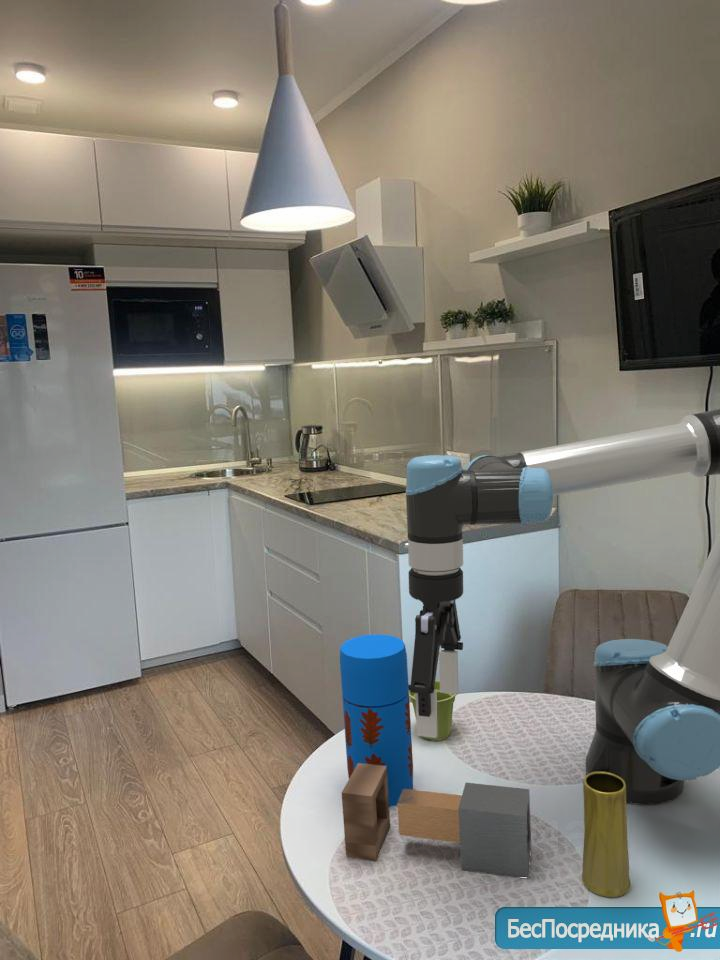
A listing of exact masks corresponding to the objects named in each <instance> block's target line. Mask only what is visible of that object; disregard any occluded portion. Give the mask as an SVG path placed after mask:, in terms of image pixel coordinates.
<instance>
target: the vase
mask: <svg viewBox="0 0 720 960" xmlns="http://www.w3.org/2000/svg"><path fill="white" fill-rule="evenodd" d="M582 782H583V783H582V786H583V787H582V788H583V791H582V792H583V828H584V832H583V833H584V834H583V852H582V872H581V881H582V883H583V884H584V886H585V887H586V888H587V889H588V890H589V891H591V892H592V893H594V894H596V895H598V896H601V897H605V898H618V897H621V896H622V897H623V896H624V895H626V894H627V893H628V892H629V891H630V890H631V889H630V888H631V883H632V882H631V879H630V860H629V859H630V858H629V855H630V854H629V843H628V825H627V823H628V822H627V802H626V784H625V781H624V780H623V779H622V778H621V777H619V776H617V775H615V774H613V773H609V772H603V771H597V772H592V773H589V774H587V775H586V774H585V776H584V778H583V781H582Z"/></svg>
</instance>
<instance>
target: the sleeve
mask: <svg viewBox="0 0 720 960" xmlns="http://www.w3.org/2000/svg"><path fill="white" fill-rule="evenodd" d="M461 795H462V797H461V801H460V804H459V808H458V811H459V832H460V843H459V850H460V852H459V853H460V869H461V871H468V872H474V873H481V874H489V875H497V876H502V877H509V876H510V878H516V877H528V878H529V874H528V872H530V865H529V862H530V863H531V856H530V853H531V854H532V832H531V829H532V828H531V827H532V826H531V799H530V798H531V797H530V796H531V795H530V789H529V788H520V787H512V786H511V787H510V786H503V785H502V786H501V785H492V784H485V783H484V784H483V783H475V782H465V783H464V786H463V790H462V794H461ZM527 828H528V837H527Z"/></svg>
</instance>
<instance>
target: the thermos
mask: <svg viewBox="0 0 720 960" xmlns="http://www.w3.org/2000/svg"><path fill="white" fill-rule="evenodd" d="M339 647H340V648H339V670H340V679H341V680H340V681H341V682H340V684H341V694H342V695H341V696H342V697H341V698H342V707H343V709H342V710H343V723H344V724H343V725H344V737H345V738H344V739H345V752H346V764H347V765H346V766H347V776H348V779H349V778H350V777H351V775H352V773H353V771H354V769H355V768H356V766H357V764H358V763H363V764H372V765H382V766H387V780H388V796H389V808H390V807H393V806H397V802H398V800H399V798H400V795H401V793H402V791H403V789H411V790H414V762H413V761H414V759H413V745H412V744H413V742H412V741H413V739H412V725H411V722H412V721H411V707H410V706H411V705H410V697H409V691H408V690H409V685H410V684H409V672H408V671H409V670H408V655H407V649H406V644H405V642H404V640H403V639H401V638H399V637H397V636H394V635H390V634H380V633H379V634H377V633H376V634H365V635H359V636H355V637H353V638H350V639H348V640H346V641H344V642H342V644H341V646H339Z"/></svg>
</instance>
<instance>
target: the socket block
mask: <svg viewBox="0 0 720 960" xmlns="http://www.w3.org/2000/svg"><path fill="white" fill-rule="evenodd" d="M341 802H342V804H341V805H342V806H341V807H342V816H343V817H342V818H343V829H344V830H343V832H344V834H343V835H344V845H345V846H344V847H345V858H352V859H358V860H365V861H372V862H377V860H378V858H379V855H380V853H381V852H382V851H381V850H382V848H383V846H384V843H385V841H386V838H387V836H388V834H389V831H390V828H391V815H390V807H389V796H388V780H387V766H382V765H372V764H363V763H358V764H357V766H356V768H355V769H354V771H353V773H352V775H351V777H350V778H349V777H348V781H347V782H346V784H345V786H344V787H343V789H342V791H341Z"/></svg>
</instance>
